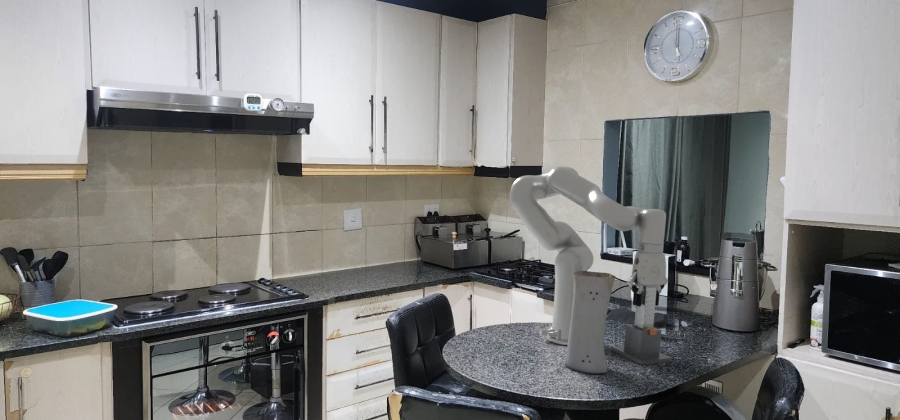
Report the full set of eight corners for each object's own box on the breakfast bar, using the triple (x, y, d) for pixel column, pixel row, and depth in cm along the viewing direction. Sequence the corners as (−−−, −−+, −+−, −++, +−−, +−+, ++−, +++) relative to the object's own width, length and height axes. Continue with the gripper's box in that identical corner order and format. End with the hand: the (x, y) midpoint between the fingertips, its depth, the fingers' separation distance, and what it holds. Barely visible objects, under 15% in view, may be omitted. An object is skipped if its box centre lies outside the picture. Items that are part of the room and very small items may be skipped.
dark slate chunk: (615, 313, 250) (616, 301, 249) (670, 323, 238) (671, 311, 237) (602, 320, 237) (603, 308, 237) (660, 331, 225) (661, 319, 225)
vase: (618, 372, 176) (628, 277, 174) (585, 378, 168) (594, 278, 167) (586, 359, 187) (594, 269, 185) (552, 364, 179) (561, 270, 178)
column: (643, 335, 188) (647, 285, 187) (633, 331, 193) (637, 282, 191) (653, 335, 190) (657, 285, 189) (643, 331, 194) (647, 282, 193)
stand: (641, 364, 183) (643, 333, 183) (611, 350, 196) (614, 320, 195) (671, 361, 188) (674, 330, 187) (641, 347, 201) (643, 318, 200)
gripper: (636, 250, 182) (631, 309, 184) (680, 250, 189) (675, 306, 191) (620, 246, 189) (615, 303, 191) (663, 246, 196) (658, 301, 198)
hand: (645, 304), depth 191 cm, fingers open, 6 cm apart
